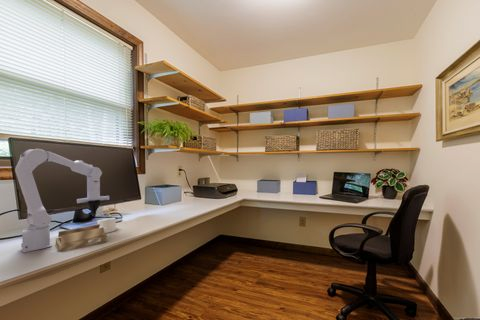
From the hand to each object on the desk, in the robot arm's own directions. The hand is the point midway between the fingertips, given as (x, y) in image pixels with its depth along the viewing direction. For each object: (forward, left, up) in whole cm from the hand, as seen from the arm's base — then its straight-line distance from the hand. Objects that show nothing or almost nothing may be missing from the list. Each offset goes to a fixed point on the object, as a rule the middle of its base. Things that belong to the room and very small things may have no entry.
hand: (93, 214), depth 120 cm
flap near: (-7, -17, -7) cm, 19 cm away
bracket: (+1, +1, -11) cm, 11 cm away
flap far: (-7, -4, -7) cm, 11 cm away
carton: (-7, -11, -10) cm, 16 cm away
